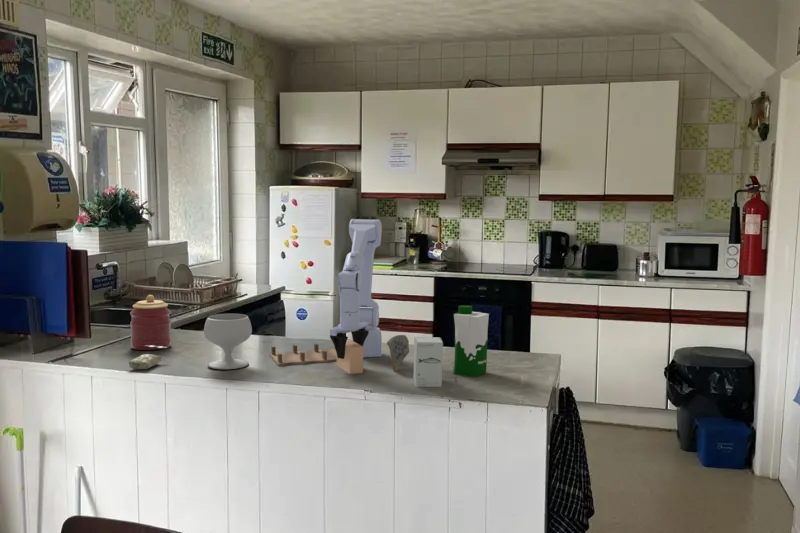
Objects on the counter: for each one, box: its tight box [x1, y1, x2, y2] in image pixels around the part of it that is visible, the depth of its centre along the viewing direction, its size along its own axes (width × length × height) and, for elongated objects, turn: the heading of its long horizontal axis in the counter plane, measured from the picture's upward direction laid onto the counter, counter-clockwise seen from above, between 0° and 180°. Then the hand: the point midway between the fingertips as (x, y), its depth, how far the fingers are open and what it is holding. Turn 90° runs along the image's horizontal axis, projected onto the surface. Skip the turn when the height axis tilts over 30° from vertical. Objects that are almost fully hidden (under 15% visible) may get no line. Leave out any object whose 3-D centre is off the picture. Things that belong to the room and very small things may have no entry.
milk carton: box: [453, 304, 490, 378], centre depth 201 cm, size 9×9×20 cm
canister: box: [129, 294, 172, 351], centre depth 232 cm, size 13×13×18 cm
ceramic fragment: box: [386, 334, 410, 373], centre depth 207 cm, size 11×3×10 cm, turn 151°
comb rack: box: [268, 342, 337, 367], centre depth 220 cm, size 23×15×3 cm, turn 111°
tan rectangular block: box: [335, 338, 364, 375], centre depth 206 cm, size 4×12×8 cm, turn 24°
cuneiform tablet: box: [128, 345, 169, 370], centre depth 207 cm, size 7×4×12 cm
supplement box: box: [413, 336, 444, 388], centre depth 190 cm, size 7×7×13 cm
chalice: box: [203, 312, 253, 370], centre depth 208 cm, size 14×14×15 cm
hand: (349, 356), depth 206 cm, fingers open, 7 cm apart
